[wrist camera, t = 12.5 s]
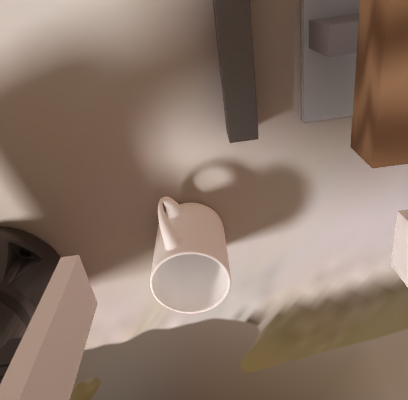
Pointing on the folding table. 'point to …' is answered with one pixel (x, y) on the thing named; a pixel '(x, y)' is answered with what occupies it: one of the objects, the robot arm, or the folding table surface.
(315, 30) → the grey ridged block
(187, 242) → the mug
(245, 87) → the block
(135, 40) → the folding table surface
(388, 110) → the walnut bar
